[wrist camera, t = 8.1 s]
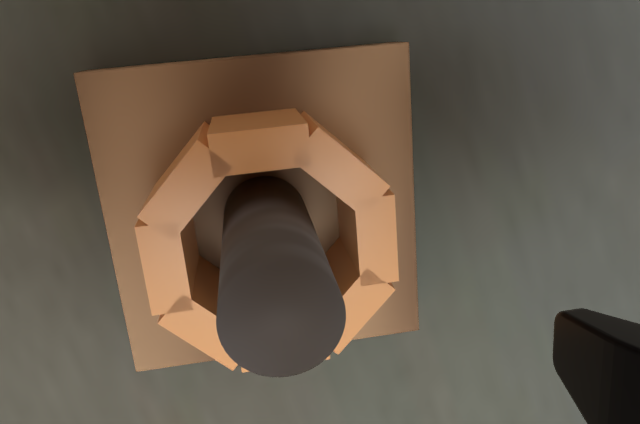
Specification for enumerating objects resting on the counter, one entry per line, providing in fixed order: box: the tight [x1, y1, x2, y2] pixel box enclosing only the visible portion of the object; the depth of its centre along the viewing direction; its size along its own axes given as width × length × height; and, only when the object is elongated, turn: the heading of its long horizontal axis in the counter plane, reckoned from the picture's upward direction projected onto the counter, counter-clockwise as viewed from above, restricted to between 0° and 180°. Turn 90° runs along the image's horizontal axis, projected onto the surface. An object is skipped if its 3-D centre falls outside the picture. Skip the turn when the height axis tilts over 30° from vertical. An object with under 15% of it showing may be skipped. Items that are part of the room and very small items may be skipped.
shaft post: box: [74, 42, 419, 377], centre depth 14 cm, size 9×9×8 cm
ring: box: [134, 108, 399, 373], centre depth 15 cm, size 6×6×3 cm
